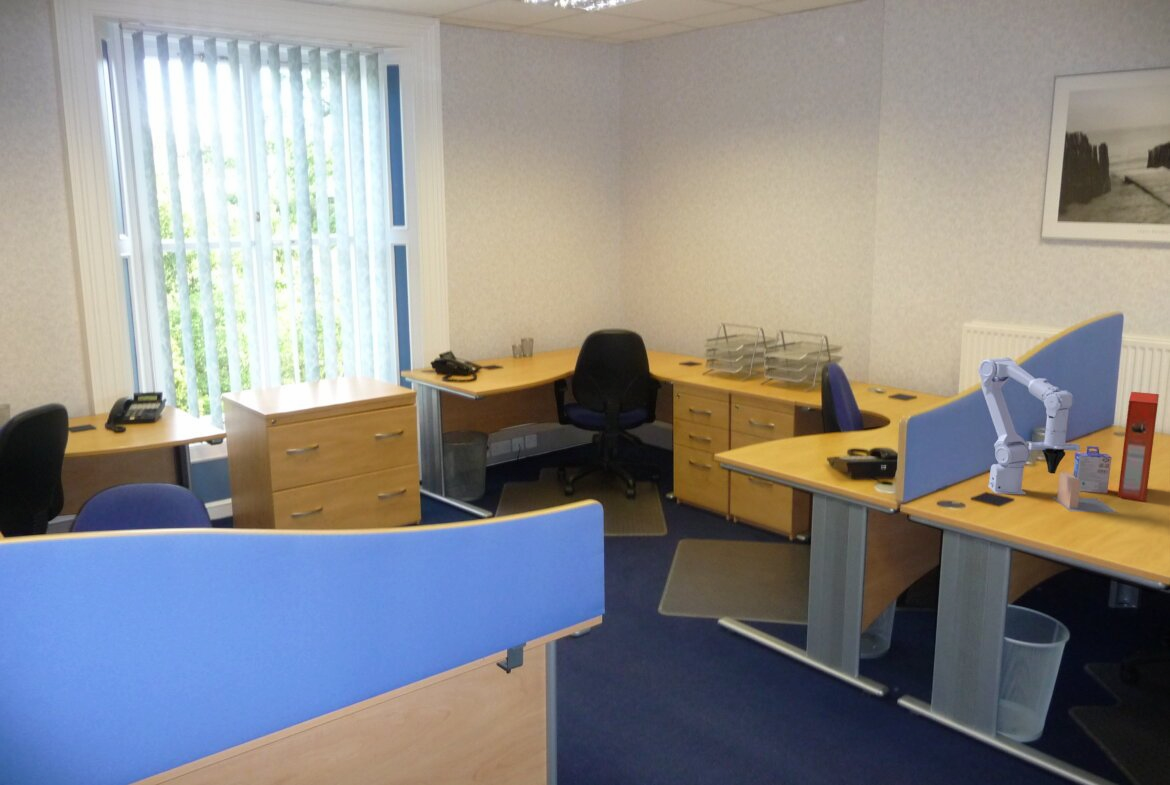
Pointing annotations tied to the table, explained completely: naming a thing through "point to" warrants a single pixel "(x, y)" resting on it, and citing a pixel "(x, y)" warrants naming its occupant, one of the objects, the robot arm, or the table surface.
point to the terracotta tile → (1069, 490)
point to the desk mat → (1090, 505)
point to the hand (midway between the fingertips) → (1051, 472)
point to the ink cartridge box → (1092, 470)
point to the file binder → (1138, 446)
